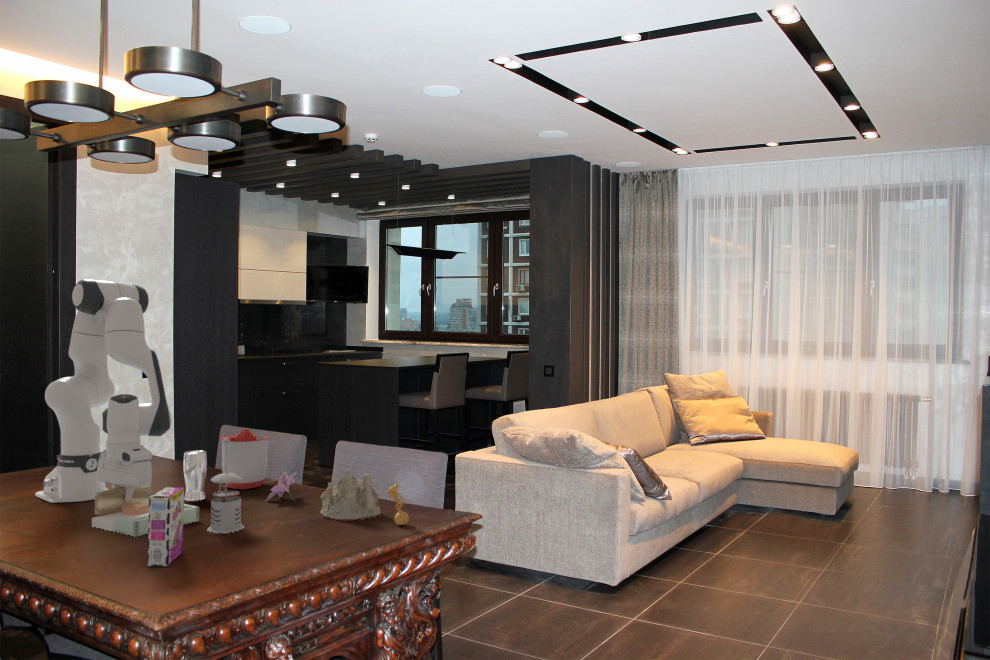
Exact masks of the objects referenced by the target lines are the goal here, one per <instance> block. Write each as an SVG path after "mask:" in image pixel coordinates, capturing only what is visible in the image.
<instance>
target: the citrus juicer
mask: <svg viewBox="0 0 990 660" xmlns="http://www.w3.org/2000/svg"><path fill="white" fill-rule="evenodd" d="M224 438H229V439H230V442H227V472H228V473H233V474H236V475H238V476H240V477H241V478H242V479H241V481H239V482H235V483H228V485H227V488H229V489H235V490H237V489H239V490H240V489H241V491H244V489H246V490H247V489H253V488H260V487H262V485H263V483H264V482H265V478H266V474H267V471H268V462H269V461H268V460H269V459H268V458H269V450H270V445H269V444H268V443H269V440H268V439H269V435H266V436H264V437H263V438H261V439H257V434H254V433H252V432H251V431H250V430H249V429H247V428H243V429H242V430H241V431H240V432H239V433H238V434H234V435H233V434H231V435H226V436H223V437H221V438H220V439H221V440H220V441H221V470H222V473H225V472H226V443H224V442H223V440H224Z"/></svg>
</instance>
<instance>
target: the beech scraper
mask: <svg viewBox="0 0 990 660" xmlns="http://www.w3.org/2000/svg"><path fill="white" fill-rule="evenodd" d="M108 489H109V488H108ZM126 491H127V490H126V489H125V486H120V487H119V488H114V489H112V488H110V489H109V490H104V491H99V492H95V499H94V515H97V516H103V515H107V514H112V513H116V512H120V511H122V506H124V505H129V504H134V503H142V504H147V505H149V497H150V496H152V483H151V484H150V486H149V487H145V488H135V490H134V492H133V494H132V500H131V501H128V502H127V501H124V500H123V495H125V494H126Z"/></svg>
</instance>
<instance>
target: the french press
mask: <svg viewBox="0 0 990 660" xmlns="http://www.w3.org/2000/svg"><path fill="white" fill-rule="evenodd" d="M223 442H224V443H226V472H225V473H223V472H222V473H219V474H217V475H214V476H213V477H211V479H210V481H211V482H212V483H214V484H219V486H218V491H215V492H213V493H212V494H211V495H212V496H213V498H211V499H210V506H211V507H210V526H209V527H208V528H207V530H206V532H208V531H209V532H208V533H211V532H213V533H212V534H220V533H222V534H231V533H230V532H232V533H236V532H235V531H237V532H240V531H239V530H241V529H242V530H244V529H245V526H244V525H243V523H242V497H241V496H239V495H240V494H241V493H240V491H238V490H227V489H228V487H227V485H228V483H235V482H239V481H241V479H242V478H241V477H240V476H238V475H236V474H233V473H228V472H227V442H230V439H229V438H224V440H223ZM223 484H225V485H223ZM221 487H222V488H224V490H221ZM223 500H224V502H223ZM243 528H244V529H243ZM242 530H241V531H242Z"/></svg>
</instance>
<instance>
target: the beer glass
mask: <svg viewBox="0 0 990 660" xmlns="http://www.w3.org/2000/svg"><path fill="white" fill-rule="evenodd" d="M207 461H208V459H207V451H205V450H189V451H184V453H183V466H182V467H183V475H184V477H183V478H184V483H185V493H184V501H185V500H186V502H198V501H199V500H200V501H203V499H204V500H205V499H206V494H205V490H204V489H205V487H204V486H205V481H206V476H207V470H208V469H207V468H208V466H207V465H208V463H207Z"/></svg>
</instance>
